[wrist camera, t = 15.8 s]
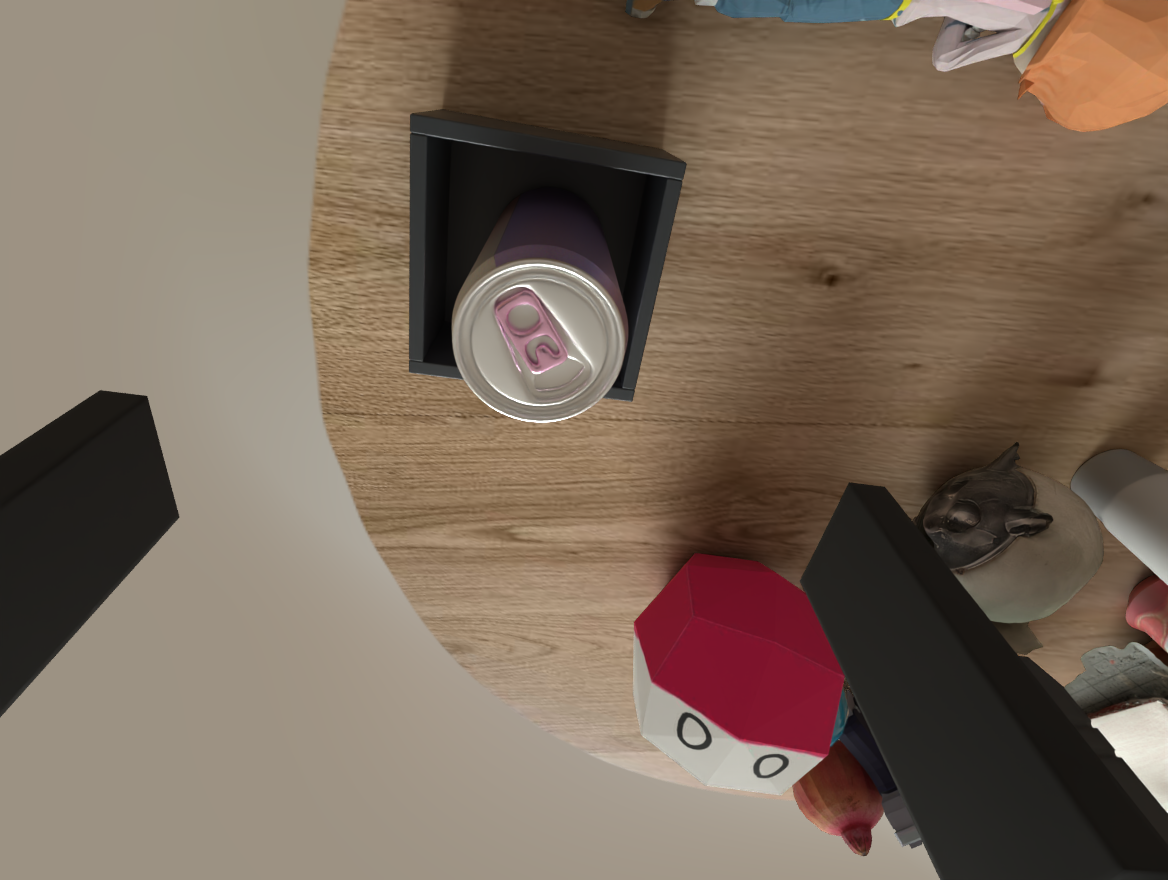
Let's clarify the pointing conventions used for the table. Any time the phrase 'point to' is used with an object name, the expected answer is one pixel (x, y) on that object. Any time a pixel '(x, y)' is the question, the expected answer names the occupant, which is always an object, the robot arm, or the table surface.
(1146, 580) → the liquor
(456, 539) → the table surface
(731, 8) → the figurine
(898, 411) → the table surface
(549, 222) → the beverage can
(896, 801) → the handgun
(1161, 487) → the cup
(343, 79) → the table surface
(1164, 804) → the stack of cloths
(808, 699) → the decorative object
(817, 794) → the fruit
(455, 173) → the trash bin
